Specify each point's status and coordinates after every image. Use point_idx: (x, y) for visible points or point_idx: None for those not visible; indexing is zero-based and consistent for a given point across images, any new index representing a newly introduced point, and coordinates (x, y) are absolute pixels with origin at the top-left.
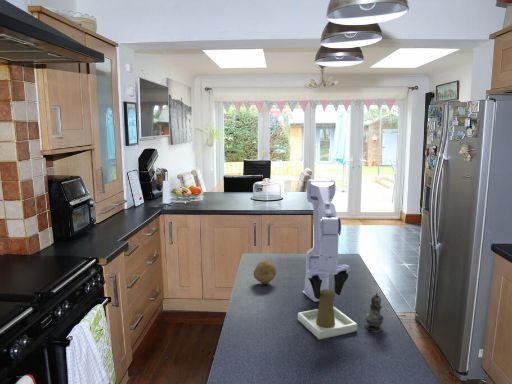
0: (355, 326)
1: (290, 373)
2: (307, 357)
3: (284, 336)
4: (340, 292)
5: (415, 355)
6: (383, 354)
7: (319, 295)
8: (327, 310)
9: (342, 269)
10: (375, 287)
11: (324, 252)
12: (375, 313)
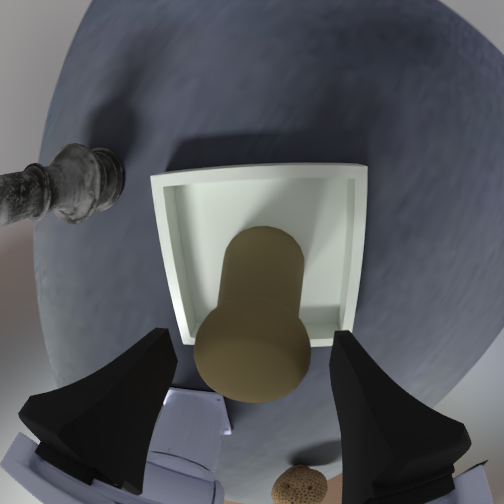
0: (162, 173)
1: (493, 62)
2: (441, 87)
3: (446, 239)
4: (147, 336)
5: (91, 10)
6: (169, 10)
7: (345, 345)
8: (271, 272)
9: (45, 492)
10: (51, 367)
11: None
12: (56, 167)
